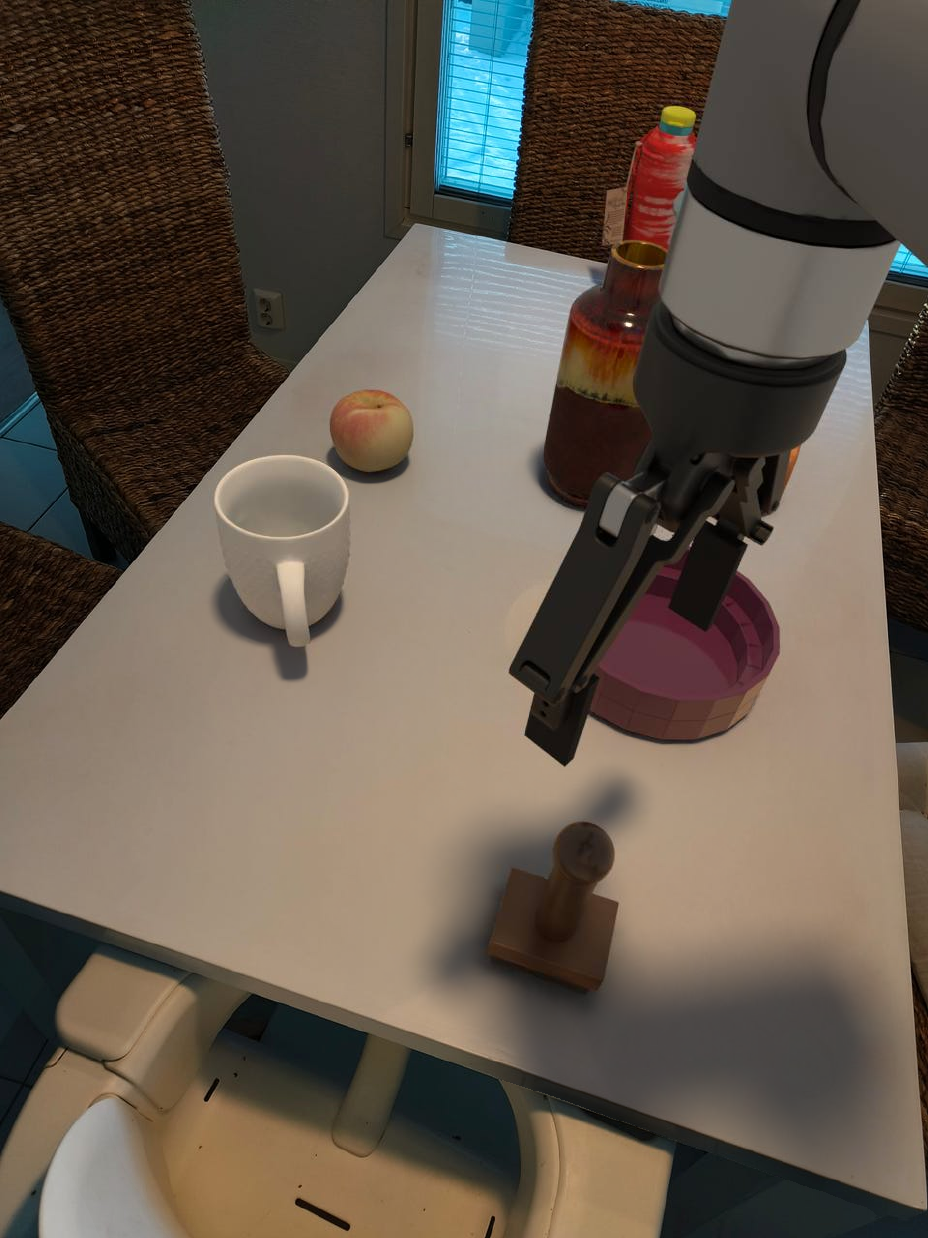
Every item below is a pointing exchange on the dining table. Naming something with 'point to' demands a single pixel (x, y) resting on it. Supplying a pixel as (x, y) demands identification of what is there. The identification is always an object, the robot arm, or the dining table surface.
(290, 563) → the mug
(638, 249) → the vase
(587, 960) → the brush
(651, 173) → the water bottle
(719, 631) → the bowl
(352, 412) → the yellow-red round fruit
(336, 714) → the dining table surface
